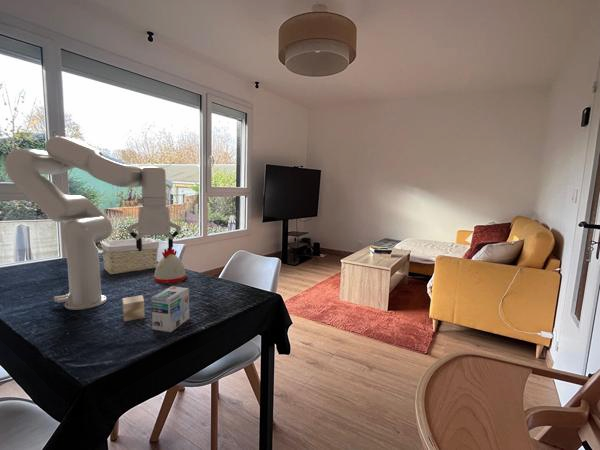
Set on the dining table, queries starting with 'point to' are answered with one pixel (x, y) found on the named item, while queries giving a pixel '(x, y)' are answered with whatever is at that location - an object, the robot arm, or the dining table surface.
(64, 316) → the dining table surface
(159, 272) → the kitchen timer
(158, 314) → the light bulb box
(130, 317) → the maple block
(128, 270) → the storage basket
